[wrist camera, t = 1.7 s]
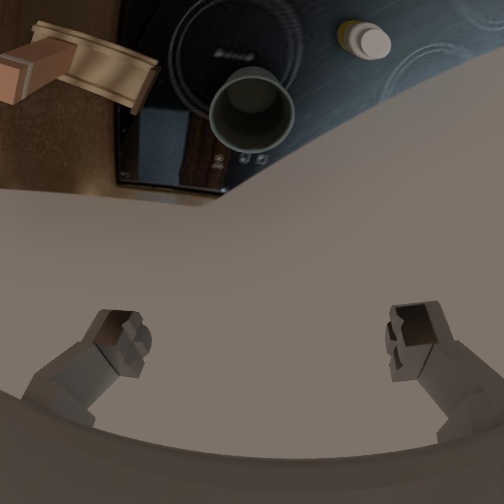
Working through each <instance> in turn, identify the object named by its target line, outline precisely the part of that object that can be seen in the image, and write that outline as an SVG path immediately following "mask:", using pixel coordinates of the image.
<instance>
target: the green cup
mask: <svg viewBox="0 0 504 504" xmlns="http://www.w3.org/2000/svg"><path fill="white" fill-rule="evenodd" d="M294 117H295V112H294V105H293V102H292V99H291V97H290V95H289V94H288V92H287V91H286V90H285V89H284V88H283V86H282V85H281V84H280V83H279V81H278V80H277V79H276V77H275V76H274V75H273V74H272V73H271V72H269V71H267V70H266V69H263V68H260V67H255V66H249V67H244V68H241V69H239V70H237V71H235V72H234V73H233V74H232V75H231V76H230V77H229V78H228V80H227V81H226V82H225V83H224V85H223V86H222V87H221V88H220V89H219V90H218V91H217V93H216V94H215V96H214V98H213V100H212V103H211V106H210V111H209V120H210V125H211V128H212V130H213V132H214V134H215V136H216V137H217V138H218V139H219V140H220V141H221V142H222V143H223V144H224V145H226V146H227V147H229V148H231V149H233V150H235V151H238V152H243V153H260V152H264V151H267V150H270V149H272V148H274V147H276V146H277V145H278V144H280V143H281V142H282V141H283V140H284V139H285V138H286V137H287V135H288V134H289V132H290V130H291V128H292V126H293V123H294Z"/></svg>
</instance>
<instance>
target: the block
mask: <svg viewBox="0 0 504 504" xmlns="http://www.w3.org/2000/svg"><path fill="white" fill-rule="evenodd" d="M76 47H77V45H76V44H73V43H69V42H66V41H63V40H60V39H56V38H53V37H47V38H44V39H41V40H38V41H35V42H33V43H30V44H27V45H24V46H22V47H19V48H17V49H14V50H12V51H9V52H7V53H5V54H1V55H0V100H1V101H3V102H6V103H9V104H11V105H14V104H15V103H17V102H18V101H20V100H22V99H24V98H25V97H26V96H28V95H29V94H31V93H32V92H34V91H36V90H37V89H39V88H41V87H42V86H44V85H46V84H47V83H49V82H51V81H53V80H54V79H56V78H58V77H60V76H62V75H63V74H65V73H67V72H68V70H69V67H70V64H71V61H72V58H73V56H74V53H75V50H76Z"/></svg>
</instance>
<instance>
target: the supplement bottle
mask: <svg viewBox="0 0 504 504" xmlns="http://www.w3.org/2000/svg"><path fill="white" fill-rule="evenodd" d="M337 40H338V43H339V44H340V46H341V47H342V48H343V49H345V50H346V51H348V52H350V53H352V54H354V55H356V56H358V57H360V58H363V59H366V60H374V59H379V58H383V57H385V56H386V55H387V54H388V53H389V52H390V49H391V42H390V39H389V37H388V36H387V34H385V33H384V31H383V30H382V29H381V28H380V27H378V26H377V25H375V24H372V23H368V22H362V21H356V20H349V21H346V22H344V23H342V24H341V25H340V26H339V28H338V30H337Z"/></svg>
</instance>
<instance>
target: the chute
mask: <svg viewBox="0 0 504 504" xmlns="http://www.w3.org/2000/svg"><path fill="white" fill-rule="evenodd" d="M31 31H34V35H33V38H32V41H31V43H33V42H35V41H38V40H41V39H44V38H47V37H53V38H56V39H60V40H63V41H66V42H69V43H73V44H76V45H77V47H76V50H75V53H74V56H73V58H72V61H71V64H70V67H69V70H68V72H67V73H65V74H63V75H62V76H60V77H58V78H57V79H59V80H62V81H65V82H67V83H70V84H73V85H75V86H78V87H81V88H83V89H86V90H88V91H91V92H94V93H96V94H99V95H101V96H103V97H106V98H108V99H111V100H113V101H116V102H118V103H120V104H123V105H125V106H127V107H130V108H132V110H131V112H130V113H131V114H133V115H137V114H138V112H139V111H140V110H141V109H142V107H143V105H144V103H145V101H146V98H147V96H148V94H149V92H150V90H151V88H152V86H153V84H154V82H155V80H156V78H157V76H158V74H159V72H160V70H161V68H162V67H160V66H157V63H158V60H156V59H153V58H151V57H148V56H146V55H144V54H141V53H139V52H136V51H133V50H131V49H128V48H126V47H123V46H120V45H118V44H115V43H112V42H109V41H107V40H104V39H101V38H98V37H95V36H92V35H89V34H86V33H83V32H80V31H76V30H73V29H70V28H66V27H63V26H59V25H56V24H52V23H48V22H44V21H38V23H37V24H36V25H33V27H32V30H31Z"/></svg>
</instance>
